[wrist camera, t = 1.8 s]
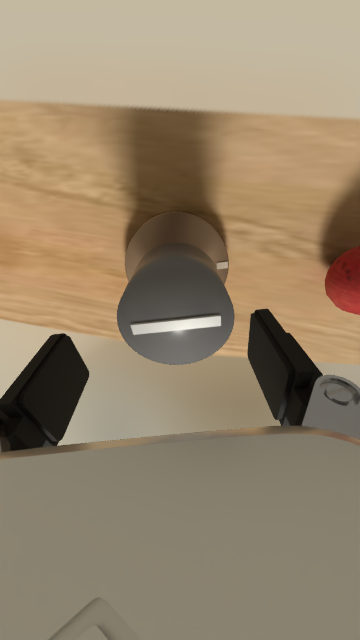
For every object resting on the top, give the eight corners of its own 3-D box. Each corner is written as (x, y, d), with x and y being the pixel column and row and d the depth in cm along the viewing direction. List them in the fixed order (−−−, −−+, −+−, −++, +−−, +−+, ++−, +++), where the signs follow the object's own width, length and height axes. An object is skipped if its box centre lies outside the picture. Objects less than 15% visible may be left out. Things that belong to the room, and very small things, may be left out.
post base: (225, 203, 17) (240, 210, 13) (225, 301, 23) (235, 328, 18) (115, 219, 18) (96, 230, 14) (141, 311, 23) (132, 339, 19)
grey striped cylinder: (219, 236, 14) (237, 260, 10) (220, 328, 18) (233, 373, 14) (122, 249, 14) (98, 278, 10) (146, 336, 19) (137, 381, 15)
